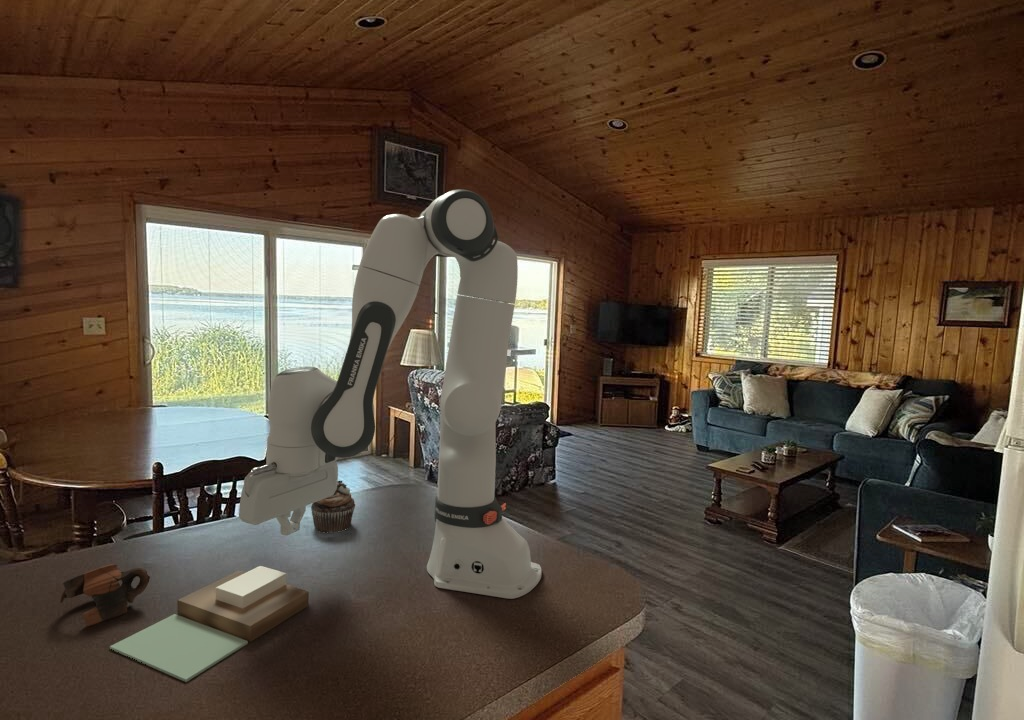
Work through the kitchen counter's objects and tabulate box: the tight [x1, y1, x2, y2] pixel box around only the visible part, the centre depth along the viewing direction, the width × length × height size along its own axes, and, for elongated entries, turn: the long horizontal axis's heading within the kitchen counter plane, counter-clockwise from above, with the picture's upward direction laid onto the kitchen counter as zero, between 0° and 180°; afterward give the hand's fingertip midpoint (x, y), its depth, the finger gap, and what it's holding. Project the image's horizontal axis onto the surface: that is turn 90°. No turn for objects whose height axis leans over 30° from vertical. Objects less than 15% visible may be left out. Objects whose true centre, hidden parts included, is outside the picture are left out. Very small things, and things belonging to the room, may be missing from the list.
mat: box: [109, 613, 249, 683], centre depth 85 cm, size 16×10×1 cm, turn 66°
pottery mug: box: [59, 563, 151, 627], centre depth 94 cm, size 12×10×8 cm
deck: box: [176, 570, 310, 643], centre depth 95 cm, size 16×12×2 cm
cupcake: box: [310, 480, 356, 534], centre depth 132 cm, size 10×10×10 cm
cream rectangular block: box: [216, 565, 287, 608], centre depth 97 cm, size 9×6×2 cm, turn 156°
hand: (290, 532), depth 104 cm, fingers closed
